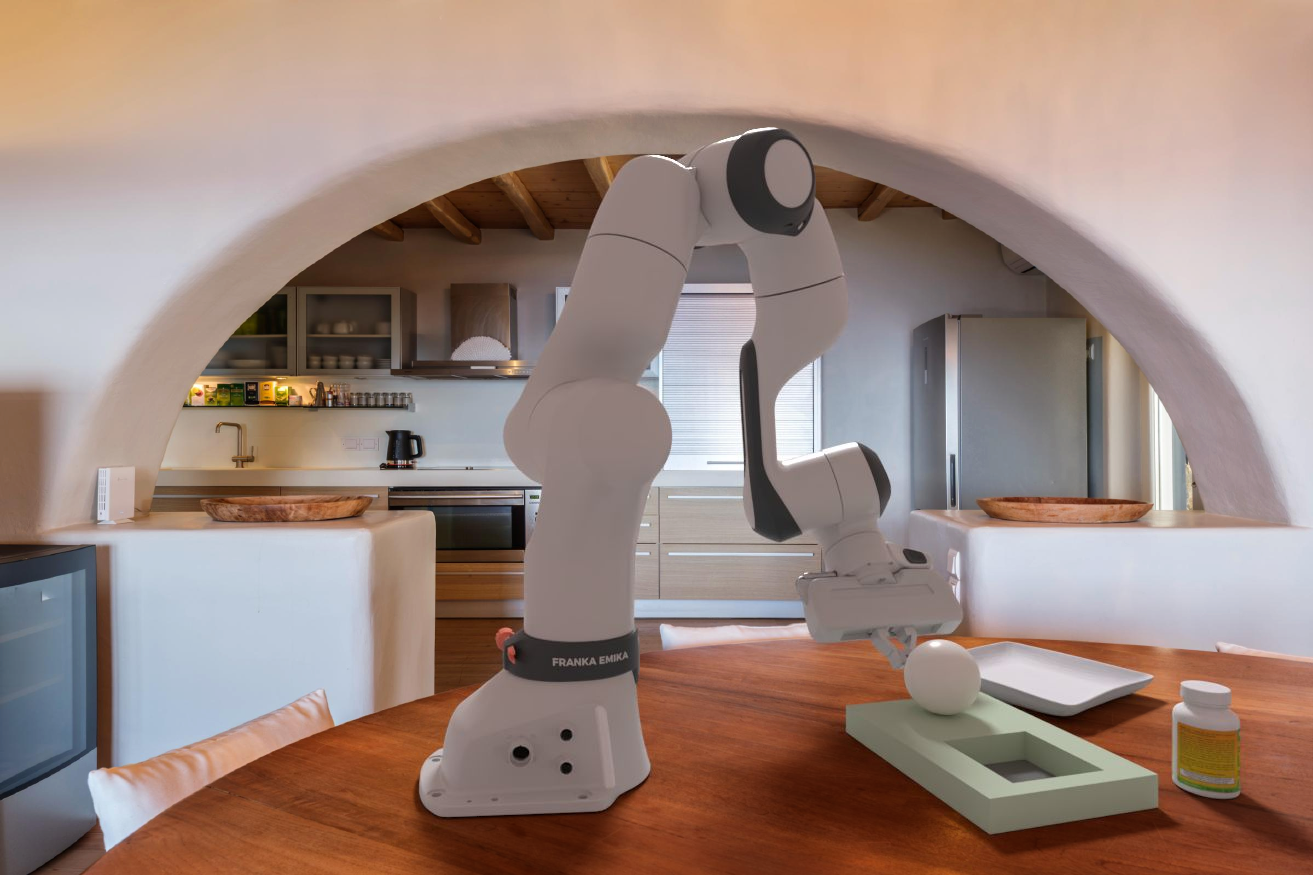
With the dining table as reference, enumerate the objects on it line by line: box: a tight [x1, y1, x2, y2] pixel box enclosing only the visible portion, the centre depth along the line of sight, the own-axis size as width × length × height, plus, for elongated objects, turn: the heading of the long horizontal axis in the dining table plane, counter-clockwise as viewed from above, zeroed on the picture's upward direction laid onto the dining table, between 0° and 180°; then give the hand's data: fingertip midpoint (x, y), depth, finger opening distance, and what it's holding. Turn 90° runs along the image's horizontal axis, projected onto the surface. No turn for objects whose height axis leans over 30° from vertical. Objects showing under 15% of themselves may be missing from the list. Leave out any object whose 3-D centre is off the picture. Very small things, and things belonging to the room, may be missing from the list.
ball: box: [903, 638, 981, 715], centre depth 87 cm, size 8×8×8 cm
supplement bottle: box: [1171, 679, 1241, 800], centre depth 75 cm, size 5×5×10 cm
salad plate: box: [965, 640, 1155, 717], centre depth 105 cm, size 21×21×3 cm
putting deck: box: [845, 692, 1159, 835], centre depth 80 cm, size 18×24×3 cm
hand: (907, 666), depth 93 cm, fingers closed
